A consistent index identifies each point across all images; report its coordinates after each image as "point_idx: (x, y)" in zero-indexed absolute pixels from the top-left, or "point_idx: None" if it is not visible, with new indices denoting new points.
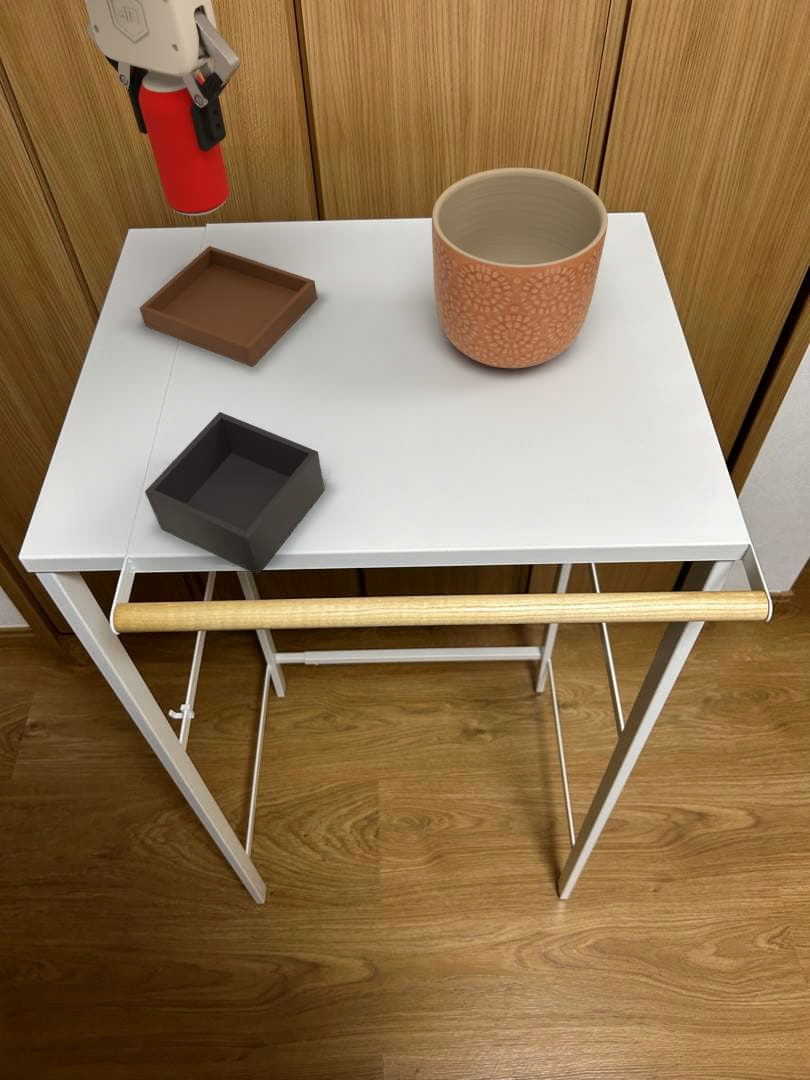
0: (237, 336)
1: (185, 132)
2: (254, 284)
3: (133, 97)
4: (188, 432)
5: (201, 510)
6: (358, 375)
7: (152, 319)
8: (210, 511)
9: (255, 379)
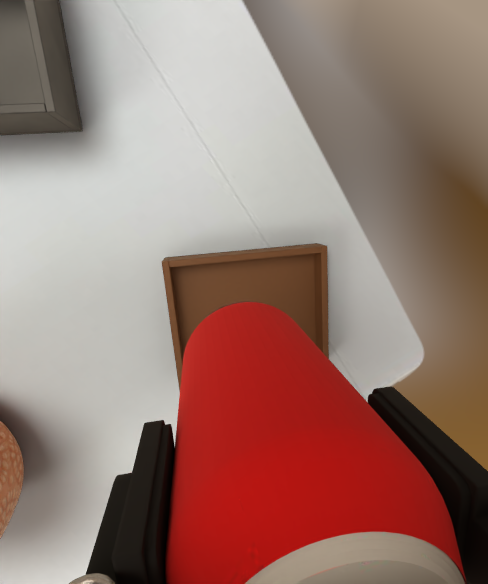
0: (209, 283)
1: (192, 438)
2: None
3: (456, 464)
4: (150, 129)
5: (27, 19)
6: (52, 312)
7: (307, 246)
8: (15, 22)
9: (147, 243)
